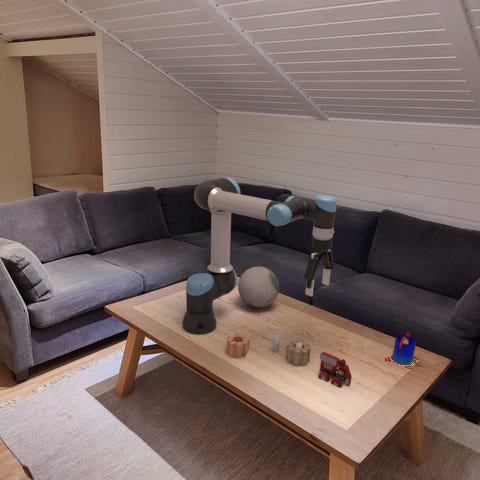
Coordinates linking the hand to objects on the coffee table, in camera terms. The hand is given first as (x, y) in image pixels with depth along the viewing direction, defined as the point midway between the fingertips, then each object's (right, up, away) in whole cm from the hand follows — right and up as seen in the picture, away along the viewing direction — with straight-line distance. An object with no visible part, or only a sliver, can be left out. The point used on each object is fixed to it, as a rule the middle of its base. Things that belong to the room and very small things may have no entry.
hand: (317, 289), depth 171 cm
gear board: (-12, -28, +4) cm, 30 cm away
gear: (-8, -27, +1) cm, 28 cm away
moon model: (-21, -13, +48) cm, 54 cm away
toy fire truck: (+4, -33, -10) cm, 35 cm away
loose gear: (-31, -26, +7) cm, 41 cm away
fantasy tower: (+35, -29, +6) cm, 46 cm away
